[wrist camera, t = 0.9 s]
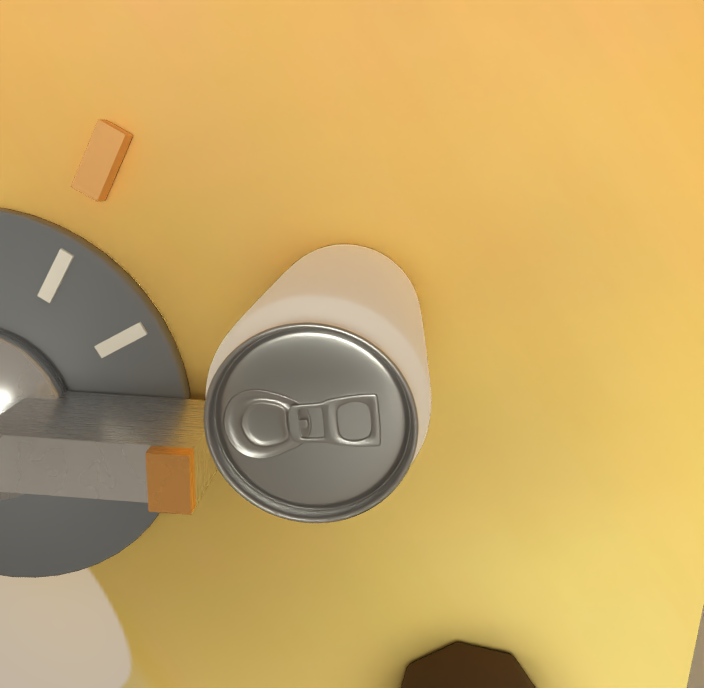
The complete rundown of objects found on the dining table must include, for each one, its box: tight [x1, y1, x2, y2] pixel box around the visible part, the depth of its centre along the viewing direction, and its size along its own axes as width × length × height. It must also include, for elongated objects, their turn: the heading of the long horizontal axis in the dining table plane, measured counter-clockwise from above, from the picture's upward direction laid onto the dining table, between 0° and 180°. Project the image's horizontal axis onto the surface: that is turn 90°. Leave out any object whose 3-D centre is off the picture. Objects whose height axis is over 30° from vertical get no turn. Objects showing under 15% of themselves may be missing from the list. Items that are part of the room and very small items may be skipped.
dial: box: [0, 330, 218, 515], centre depth 27 cm, size 15×8×5 cm, turn 88°
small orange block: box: [71, 119, 133, 201], centre depth 27 cm, size 3×1×1 cm, turn 151°
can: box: [204, 244, 431, 523], centre depth 22 cm, size 6×6×12 cm
